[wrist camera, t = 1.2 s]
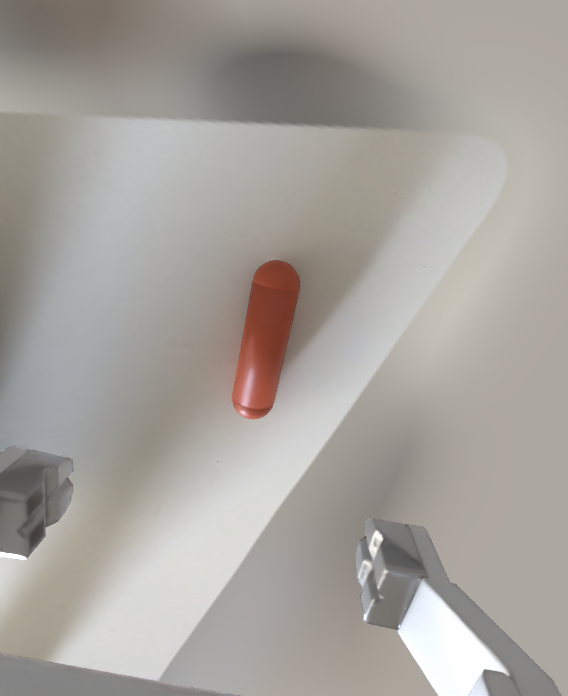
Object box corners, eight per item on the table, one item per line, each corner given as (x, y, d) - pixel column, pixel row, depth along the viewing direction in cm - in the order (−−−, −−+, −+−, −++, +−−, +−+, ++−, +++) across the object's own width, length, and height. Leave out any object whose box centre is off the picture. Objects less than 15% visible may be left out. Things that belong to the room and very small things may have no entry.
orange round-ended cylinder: (259, 253, 21) (254, 257, 19) (304, 263, 22) (305, 268, 19) (233, 401, 25) (225, 422, 22) (271, 409, 25) (268, 431, 22)
